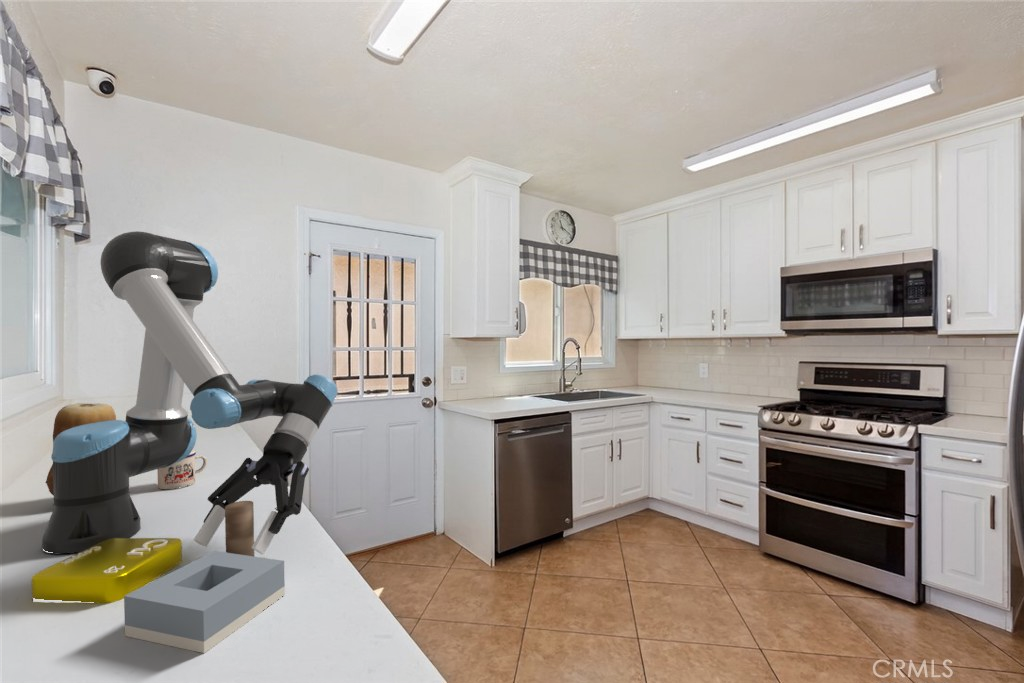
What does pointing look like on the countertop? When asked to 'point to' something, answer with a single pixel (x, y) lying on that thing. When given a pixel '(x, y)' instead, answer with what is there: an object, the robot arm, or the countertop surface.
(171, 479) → the enamel mug
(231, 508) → the pin
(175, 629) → the socket block
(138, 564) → the element tile
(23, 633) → the countertop surface
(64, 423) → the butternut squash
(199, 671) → the countertop surface
